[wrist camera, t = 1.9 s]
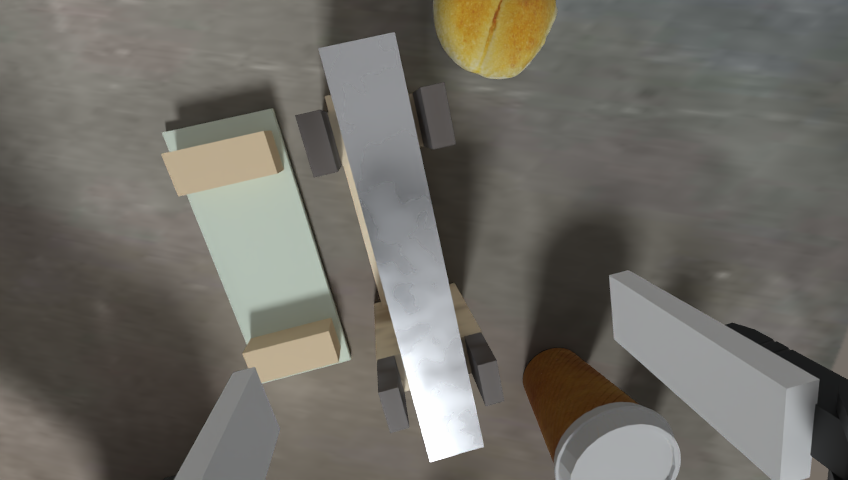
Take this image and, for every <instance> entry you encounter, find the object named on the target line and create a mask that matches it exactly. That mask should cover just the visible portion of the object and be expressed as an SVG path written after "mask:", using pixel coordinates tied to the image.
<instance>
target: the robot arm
mask: <svg viewBox="0 0 848 480" xmlns="http://www.w3.org/2000/svg"><path fill="white" fill-rule="evenodd" d="M609 281H610V294H611V306H612V318H613V331H614V340H616V341H617V342H618V343H619V344H620V345H621V346H622V347H623V348H625V349H626V350H627V351H628V352H629V353H630V354H631V355H632V356H634V357H635V358H636V359H637V360H638V361H639V362H640V363H641V364H643V365H644V366H645V367H646V368H647V369H648V370H649V371H650V372H652V373H653V374H654V375H655V376H656V377H657V378H658V379H659V380H661V381H662V382H663V383H664V384H665V385H666V386H667V387H668V388H670V389H671V390H672V391H673V392H674V393H675V394H676V395H677V396H679V397H680V398H681V399H682V400H683V401H684V402H685V403H686V404H688V405H689V406H690V407H691V408H692V409H693V410H694V411H695V412H697V413H698V414H699V415H700V416H701V417H702V418H703V419H704V420H706V421H707V422H708V423H709V424H710V425H711V426H712V427H713V428H715V429H716V430H717V431H718V432H719V433H720V434H721V435H722V436H724V437H725V438H726V439H727V440H728V441H729V442H730V443H731V444H733V445H734V446H735V447H736V448H737V449H738V450H739V451H740V452H742V453H743V454H744V455H745V456H746V457H747V458H748V459H749V460H751V461H752V462H753V463H754V464H755V465H756V466H757V467H758V468H760V469H761V470H762V471H763V472H764V473H765V474H766V475H767V476H769V477H770V478H771V479H772V480H802V479H806V478H809V477H810V470H811V460H812V457H813V458H815V459H816V460H817V461H819V462H820V463H821V464H823V465H824V466H826V467H827V468H828V469H829V472H828V480H848V379H846V378H844V377H842V376H840V375H838V374H836V373H834V372H833V371H831V370H829V369H827V368H825V367H823V366H822V365H820V364H818V363H816V362H814V361H812V360H810V359H809V358H807V357H805V356H803V355H801V354H799V353H797V352H796V351H794V350H789V348H788V347H786V346H784V345H783V344H781V343H779V342H777V341H776V342H774V341H773V339H771V338H770V337H768V336H766V335H764V334H762V333H760V332H758V331H757V330H755V329H751V328H748V327H745V326H742V325H738V324H735V323H730V324H726V325H724V324H722V323H720V322H718V321H717V320H715V319H713V318H711V317H710V316H708V315H706V314H704V313H703V312H701V311H699V310H697V309H696V308H694V307H692V306H690V305H689V304H687V303H685V302H683V301H682V300H680V299H678V298H676V297H675V296H673V295H671V294H669V293H668V292H666V291H664V290H662V289H661V288H659V287H657V286H655V285H654V284H652V283H650V282H648V281H647V280H645V279H643V278H641V277H640V276H638V275H636V274H634V273H633V272H631V271H629V270H627V271H623V272H619V273H615V274H612V275H609ZM279 431H280V428H279V425H278V423H277V420H276V418H275V415H274V413H273V410H272V408H271V405H270V403H269V400H268V398H267V395H266V393H265V390H264V388H263V386H262V383H261V381H260V378H259V376H258V373H257V371H256V368H255V367H252V368H249V369H245V370H241V371H237V372H233V374H232V375H231V377H230V379H229V381H228V383H227V384H226V386H225V388H224V390H223V392H222V394H221V395H220V397H219V399H218V401H217V403H216V404H215V406H214V408H213V410H212V412H211V413H210V415H209V417H208V419H207V421H206V423H205V424H204V426H203V428H202V430H201V432H200V433H199V435H198V437H197V439H196V441H195V442H194V444H193V446H192V448H191V450H190V452H189V453H188V455H187V457H186V459H185V461H184V462H183V464H182V466H181V468H180V470H179V471H178V473H177V475H175V476H171V477H168V478H164V479H163V480H265V478H266V475H267V472H268V468H269V465H270V462H271V458H272V455H273V451H274V448H275V445H276V441H277V438H278V435H279Z"/></svg>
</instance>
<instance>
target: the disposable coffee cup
mask: <svg viewBox="0 0 848 480" xmlns="http://www.w3.org/2000/svg"><path fill="white" fill-rule="evenodd" d="M523 385H524V388H525V391H526V393H527V396H528V399H529V401H530V404H531V406H532V409H533V411H534V414H535V416H536V419H537V421H538V424H539V427H540V429H541V432H542V435H543V438H544V440H545V443H546V445H547V448H548V450H549V452H550V455H551V458H552V460H553V462H554V472H555V479H556V480H675V479H676V477H677V475H678V472H679V468H680V463H681V455H680V449H679V447H678V444H677V442H676V440H675V439H674V435H673V432H672V429H671V427H670V426H669V424H668V422H667V421H666V420H665V419H664V418H663V417H662V416H661V415H660V414H658V413H657V412H655V411H654V410H651V409H649V408H647V407H644V406H642V405H639V404H638V403H637V402H635V401H634V400H633V399H631V398H630V397H629V396H628V395H626V394H625V393H624V392H623V391H621V390H620V389H619V388H618V387H616V386H615V385H614V384H613V383H611V382H610V381H609V380H608V379H606V378H605V377H604V376H602V375H601V374H600V373H599V372H597V371H596V370H595V369H594V368H592V367H591V366H590V365H588V364H587V363H586V362H585V361H584V360H582V359H581V358H580V357H578V356H577V355H576V354H575V353H574V352H572V351H570V350H568V349H564V348H552V349H548V350H545V351H543V352H541V353H539V354H538V355H537V356H535V357H534V358H533V359H532V360H531V361H530V363H529V364H528V365H527V367H526V369H525V372H524V375H523Z"/></svg>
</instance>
